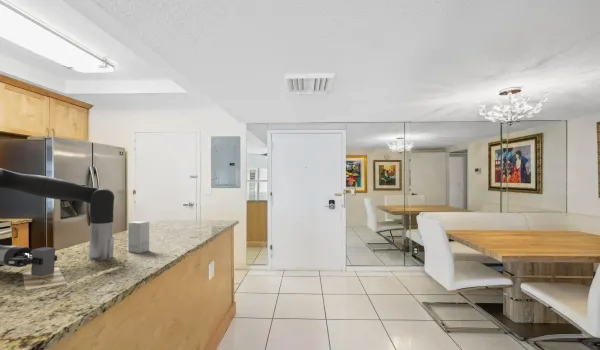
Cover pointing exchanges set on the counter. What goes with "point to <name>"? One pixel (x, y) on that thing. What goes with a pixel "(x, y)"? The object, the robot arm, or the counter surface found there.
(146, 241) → the skincare box
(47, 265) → the block
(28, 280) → the pine board
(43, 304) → the counter surface
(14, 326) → the counter surface
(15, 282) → the counter surface
